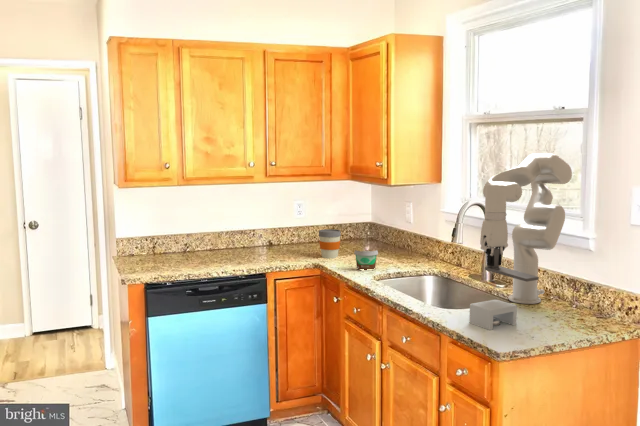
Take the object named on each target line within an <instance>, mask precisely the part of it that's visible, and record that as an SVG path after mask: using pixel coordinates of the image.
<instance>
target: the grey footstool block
mask: <svg viewBox="0 0 640 426" xmlns="http://www.w3.org/2000/svg"><path fill="white" fill-rule="evenodd" d="M517 309H518V306H517V304H513V303H510V302H506V301H503V300H499V299H489V300H485V301H479V302H474V303H470V304H469V322H468V323H470V324H472V325H474V326H478V327H480V328H483V329H485V330H489V331H492V330H494V326H493V317H496V318H499V319H500V322H502V323H505V324H508V325H512V326H516V325H517V311H518V310H517Z"/></svg>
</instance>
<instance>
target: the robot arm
mask: <svg viewBox="0 0 640 426" xmlns="http://www.w3.org/2000/svg"><path fill="white" fill-rule="evenodd" d="M572 176H573V171H572V167H571V166H570V164H569V163H568V162H566V161H565V160H564V159H563V158H562V157H560V156H559V155H558V154H557V155H556V154H553V153H531V154H528V155H527V156H526V157H525V158H524V159H523V160H521V162H519V163H518V164H517V165H516V166H515V167H512V168H510V169H506V170H504V171H500V172H498V173H496V174H494V175H493V176H491V177H490V178H489V179H488V180H487V181H486V183H485V184H484V186H483V189H482V195H483V197H484V202H485V203H484V219H483V221H482V224H481V229H480V230H481V231H480V240H479V241H480V250H482V251H483V252H484V253H485V255H486V266H487V265H489V266H494V256H493V251H494V248H498V249H500V253H499V266H501V265H502V255H504V251H505V249H506V248H508V246H509V244H508V237H509V236H508V233H509V231H508V223H507V222H508V221H507V203H514V202H518V201H519V200H520V199H521V198H522V195H523V189H522V187H526V186H528V185H530V187H531V195H530V198H529V201H528V203H527V205H526V207H525V208H526V209H525V211H524V214H523V221H524V222H525V223H520V224H519V223H518V224H517V225H515V226H514V227H513V229H512V231H511V240H512V245H513V269H512V270H515V271H519V272H523V273H526V274H530V275H533V276H537V277H539V257H538V255H537V252H536V251H535V250H545V251H551V250H553V249H554V248H555V247H556V245H557V242H558V240H559V237H560V234H561V232H562V230H563V227H564V224H565V220H566V210H565V209H564V207H563V206H562V205H560V204H556V203H555V204H554V203H552V201H553V197H554V196H553V193H552V191H551V190H550V188H549V187H548V186H547V184H548V185H549V184H551V185H566V184H569V182H570V181H571V179H572ZM489 249H490V250H489ZM544 294H545V289H544V288H541V289H538V280H534V281H528V282H526V281H522V280H519V279H515V278H512V294H510V295H509V296H508V300H509V301H510V302H512V303H516V304H522V305H535V304H539V303H541V301H542V299H541V298H540V296H539V295H544Z"/></svg>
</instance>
